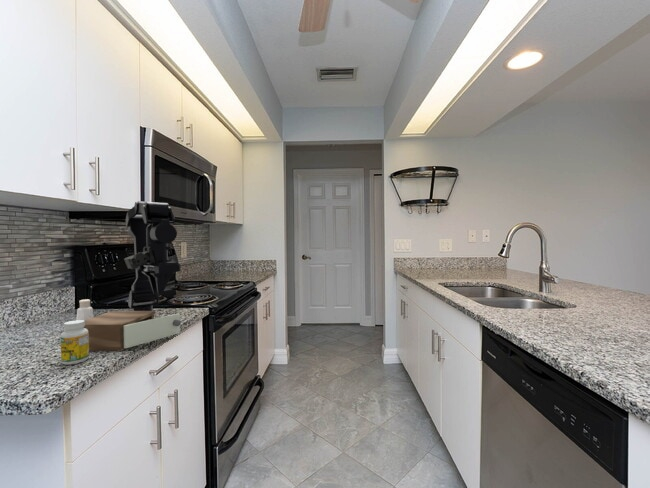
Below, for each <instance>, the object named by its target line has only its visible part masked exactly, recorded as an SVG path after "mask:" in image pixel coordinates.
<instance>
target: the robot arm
mask: <svg viewBox="0 0 650 488" xmlns="http://www.w3.org/2000/svg"><path fill="white" fill-rule="evenodd" d="M175 221H176V216H175V214H174V212H173V209H172V207H171V206H170V205H169V203H168V202H157V201H156V202H154V201H139V200H138V201H135V203H134V205H133V207H132V208H130V209H129V210H127V212H126V216H125V228H127V232H128V235H129V236H130V237H131V238H132V239H133V244H134V245H133V248H134V254H132V255H130V256H128V257H125V258H124V259H123V260H124V262H125V265H126V267H127V269H128V270H129V269H131V270H135V280H134V282H133V283H132V284H131V290H130V291H129V295H128V300H127V302H128V303H127V304H128V307H129V308H130V309H133V311H154V310H153V306H157V305H159V297H160V296H161V295H163V294H164V291H165V290H166V287H167V286H168V284H169V282H170V280H171V277H172V276H173V274H175V273H176V272H181V271H182V269H181V268H182V265H181V264H180V263H179V262H178V261H171V259H169V257H168V256H169V255H168V253H169V251H170V250H171V246H168V244H171V243H172V242H174V241H175V240H176V238H177V235H178V232H177V230H176V227H175V226H174V225H175V223H176V222H175Z"/></svg>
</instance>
